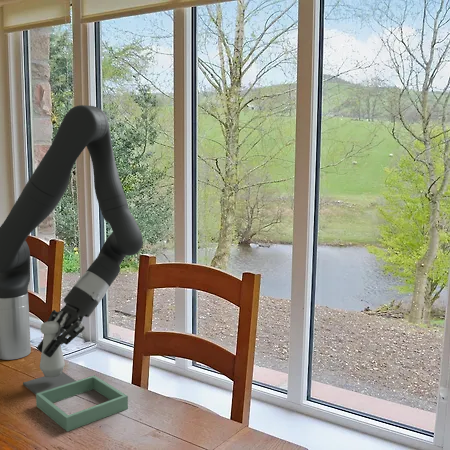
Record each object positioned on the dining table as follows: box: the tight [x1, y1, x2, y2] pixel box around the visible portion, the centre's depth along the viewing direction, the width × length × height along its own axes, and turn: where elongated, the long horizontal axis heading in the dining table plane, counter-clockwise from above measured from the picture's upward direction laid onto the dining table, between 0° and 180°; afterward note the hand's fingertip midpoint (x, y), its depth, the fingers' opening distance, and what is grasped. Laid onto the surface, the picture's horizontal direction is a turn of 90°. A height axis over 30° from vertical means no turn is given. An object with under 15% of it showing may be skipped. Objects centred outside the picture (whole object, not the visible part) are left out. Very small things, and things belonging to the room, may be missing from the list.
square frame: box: [35, 375, 129, 432], centre depth 123 cm, size 15×15×3 cm
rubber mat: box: [22, 371, 77, 396], centre depth 134 cm, size 10×10×1 cm
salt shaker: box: [39, 321, 66, 378], centre depth 133 cm, size 6×6×13 cm
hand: (43, 353), depth 131 cm, fingers closed on salt shaker, 3 cm apart
